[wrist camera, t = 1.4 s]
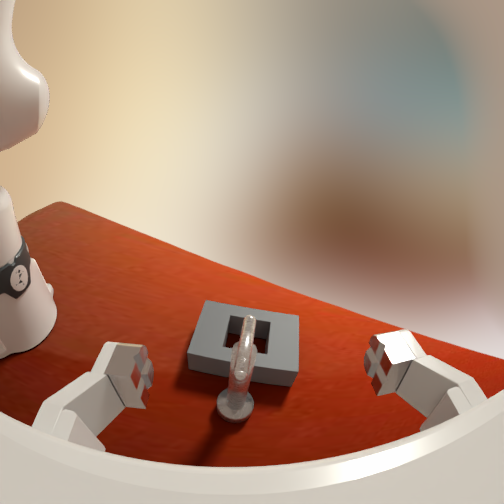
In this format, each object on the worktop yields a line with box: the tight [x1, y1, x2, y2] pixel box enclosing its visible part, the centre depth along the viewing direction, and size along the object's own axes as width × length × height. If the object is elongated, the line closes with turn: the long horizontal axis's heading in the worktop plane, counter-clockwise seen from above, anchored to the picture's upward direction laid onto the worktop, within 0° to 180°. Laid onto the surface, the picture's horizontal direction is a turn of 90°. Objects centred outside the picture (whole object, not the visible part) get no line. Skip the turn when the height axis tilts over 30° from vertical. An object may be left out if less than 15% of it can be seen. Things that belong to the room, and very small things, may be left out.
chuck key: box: [217, 315, 257, 423], centre depth 26 cm, size 4×7×14 cm, turn 173°
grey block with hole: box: [187, 300, 299, 387], centre depth 37 cm, size 14×10×4 cm
